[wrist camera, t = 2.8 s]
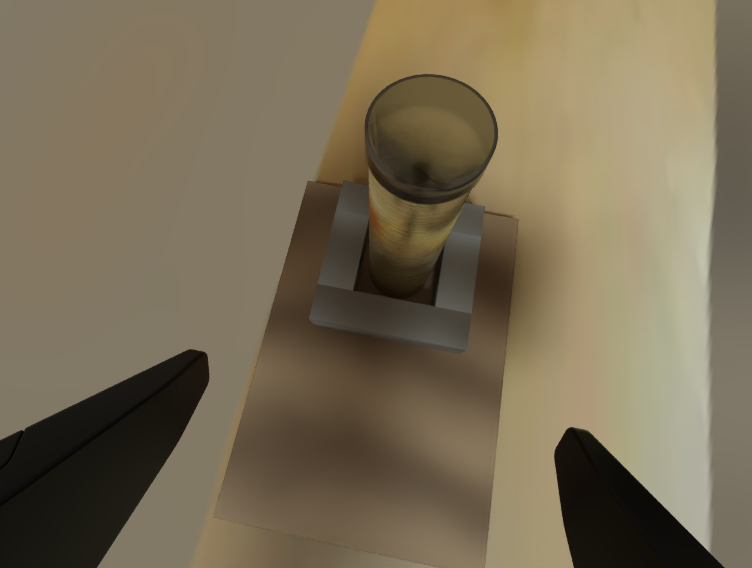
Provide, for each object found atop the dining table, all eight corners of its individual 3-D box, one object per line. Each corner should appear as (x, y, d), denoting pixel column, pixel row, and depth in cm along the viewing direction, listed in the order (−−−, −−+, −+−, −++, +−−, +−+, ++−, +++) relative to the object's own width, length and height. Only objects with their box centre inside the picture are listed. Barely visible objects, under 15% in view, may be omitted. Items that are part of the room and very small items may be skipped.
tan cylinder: (424, 305, 22) (490, 198, 10) (362, 293, 22) (352, 172, 10) (434, 246, 23) (504, 85, 11) (374, 235, 24) (378, 64, 11)
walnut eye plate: (478, 568, 20) (496, 598, 17) (220, 511, 20) (195, 531, 17) (513, 225, 25) (531, 204, 22) (310, 188, 26) (302, 163, 23)
